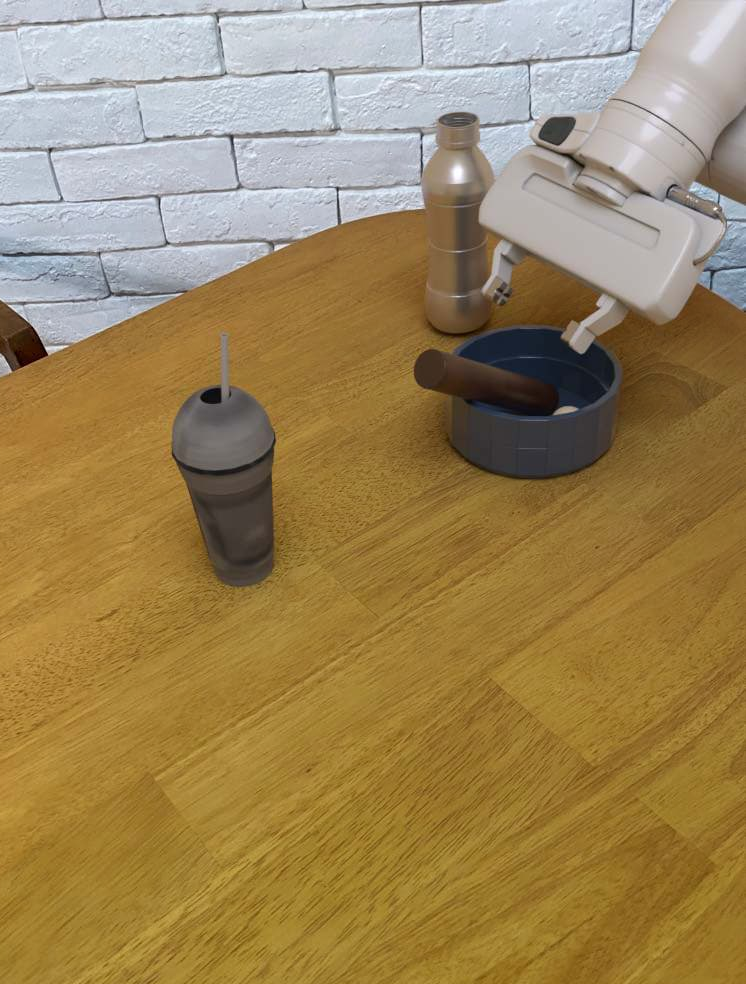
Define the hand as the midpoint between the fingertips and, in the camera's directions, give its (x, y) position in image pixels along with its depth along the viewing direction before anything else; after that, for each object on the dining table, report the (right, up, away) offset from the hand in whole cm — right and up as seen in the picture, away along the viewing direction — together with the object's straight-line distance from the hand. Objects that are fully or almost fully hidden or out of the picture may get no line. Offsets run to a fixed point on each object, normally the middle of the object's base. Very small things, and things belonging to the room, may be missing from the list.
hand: (529, 323), depth 89 cm
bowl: (+1, -8, +7) cm, 11 cm away
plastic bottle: (-3, +4, +21) cm, 22 cm away
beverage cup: (-22, -19, -3) cm, 29 cm away
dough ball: (+4, -8, +4) cm, 9 cm away
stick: (+2, -5, +7) cm, 9 cm away
